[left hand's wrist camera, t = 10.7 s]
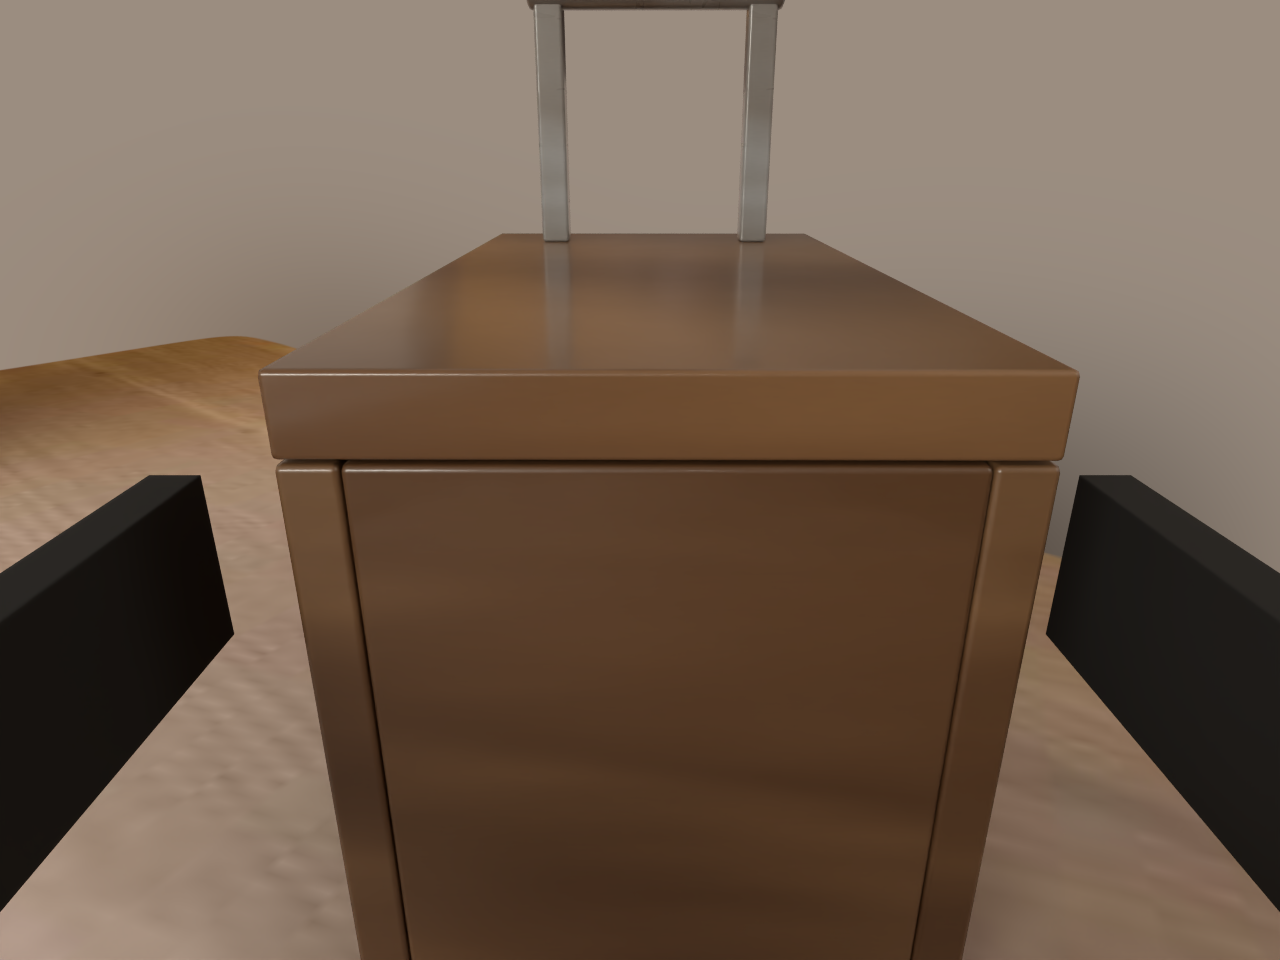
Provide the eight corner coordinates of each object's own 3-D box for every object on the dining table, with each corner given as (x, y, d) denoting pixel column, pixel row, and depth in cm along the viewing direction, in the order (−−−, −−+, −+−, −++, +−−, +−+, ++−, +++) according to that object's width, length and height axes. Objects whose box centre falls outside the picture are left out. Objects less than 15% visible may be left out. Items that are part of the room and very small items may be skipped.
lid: (502, 270, 25) (483, -54, 22) (803, 270, 25) (827, -54, 22) (269, 461, 9) (89, -557, 6) (1065, 463, 9) (1274, -563, 6)
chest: (516, 560, 28) (499, 275, 24) (786, 560, 28) (807, 275, 24) (370, 1027, 13) (271, 465, 10) (949, 1029, 13) (1064, 466, 9)
